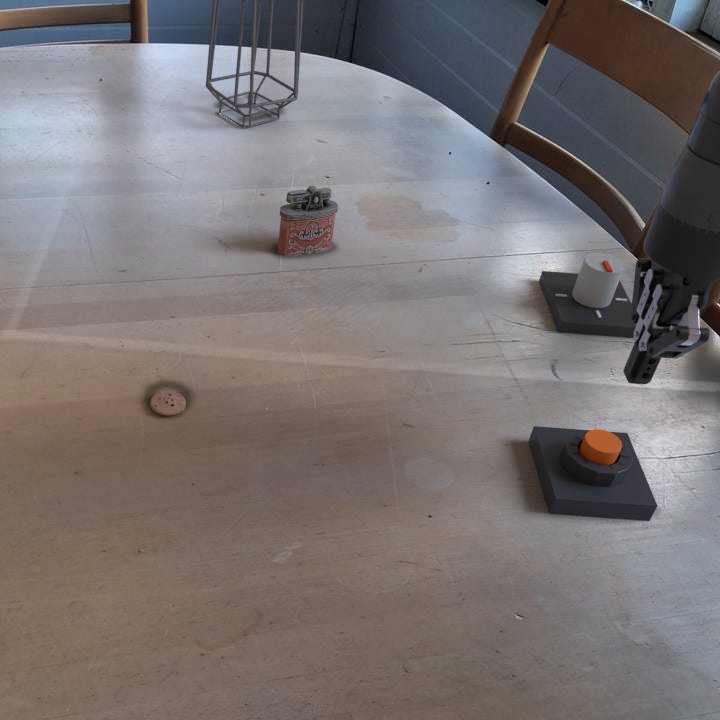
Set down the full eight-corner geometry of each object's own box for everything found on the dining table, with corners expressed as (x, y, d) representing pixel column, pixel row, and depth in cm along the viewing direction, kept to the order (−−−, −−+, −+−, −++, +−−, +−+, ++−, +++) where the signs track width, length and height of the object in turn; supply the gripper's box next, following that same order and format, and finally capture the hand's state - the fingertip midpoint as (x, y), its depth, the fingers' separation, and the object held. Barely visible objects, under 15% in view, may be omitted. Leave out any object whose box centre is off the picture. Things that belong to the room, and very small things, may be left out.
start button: (610, 443, 92) (616, 430, 91) (620, 467, 89) (626, 454, 88) (575, 440, 92) (581, 427, 91) (584, 464, 89) (589, 451, 88)
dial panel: (610, 296, 120) (618, 275, 118) (635, 348, 112) (644, 326, 109) (535, 290, 120) (542, 269, 118) (554, 342, 111) (562, 320, 109)
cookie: (152, 419, 96) (152, 411, 95) (148, 395, 99) (147, 388, 98) (188, 416, 97) (188, 409, 96) (183, 393, 100) (183, 385, 99)
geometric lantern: (260, 94, 165) (276, -134, 141) (312, 125, 156) (339, -113, 132) (187, 109, 158) (190, -129, 134) (237, 143, 149) (251, -106, 125)
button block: (620, 448, 97) (633, 419, 95) (649, 521, 89) (664, 492, 87) (528, 441, 97) (538, 412, 94) (549, 514, 89) (561, 485, 86)
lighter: (324, 248, 125) (334, 179, 118) (335, 260, 123) (345, 190, 116) (271, 256, 123) (277, 186, 116) (281, 268, 120) (288, 198, 114)
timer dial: (567, 286, 115) (580, 249, 112) (604, 288, 116) (619, 251, 112) (577, 307, 112) (590, 269, 108) (615, 309, 112) (630, 271, 108)
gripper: (790, 250, 68) (698, 427, 80) (727, 173, 77) (654, 341, 89) (690, 244, 68) (614, 421, 80) (640, 167, 77) (578, 336, 89)
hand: (635, 378), depth 85 cm, fingers closed
